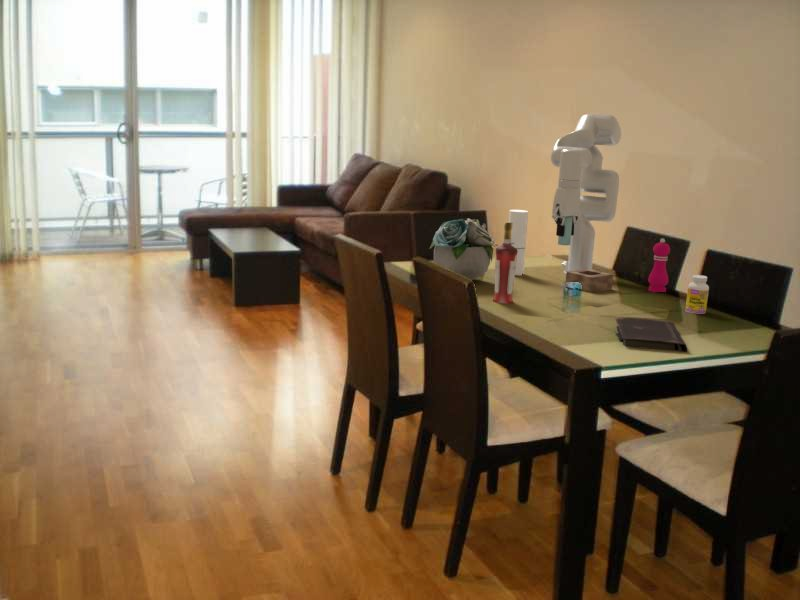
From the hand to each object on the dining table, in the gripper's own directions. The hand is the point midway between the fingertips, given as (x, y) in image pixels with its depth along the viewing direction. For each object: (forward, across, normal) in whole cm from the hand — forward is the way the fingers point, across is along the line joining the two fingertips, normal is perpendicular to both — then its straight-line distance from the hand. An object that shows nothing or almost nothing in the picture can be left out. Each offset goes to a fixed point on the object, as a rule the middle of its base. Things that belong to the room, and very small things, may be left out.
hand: (564, 234), depth 326 cm
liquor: (+21, +34, +4) cm, 40 cm away
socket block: (+21, -14, +2) cm, 25 cm away
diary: (+21, +30, +61) cm, 71 cm away
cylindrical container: (+21, -8, -31) cm, 39 cm away
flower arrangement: (+21, +23, -29) cm, 42 cm away
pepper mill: (+21, -34, +17) cm, 44 cm away
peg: (+3, 0, 0) cm, 3 cm away
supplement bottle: (+21, -16, +46) cm, 53 cm away
